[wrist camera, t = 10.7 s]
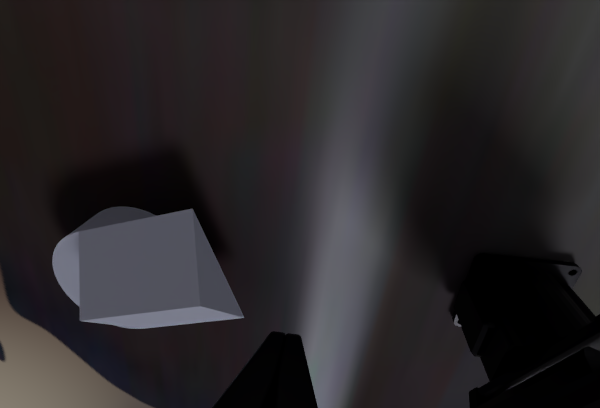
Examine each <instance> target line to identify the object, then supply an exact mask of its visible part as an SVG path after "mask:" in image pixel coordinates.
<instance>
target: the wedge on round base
mask: <svg viewBox="0 0 600 408" xmlns="http://www.w3.org/2000/svg"><path fill="white" fill-rule="evenodd" d="M52 263H53V269H54V273H55V276H56V278H57V280H58V282H59V284H60V286H61V287H62V289H63V290H64V291H65V293H66V294H67V295H68V296H69V297H70V298H71V300H72V301H74V302H75V303H76V304H77V305H78V306H79V307H80V321H86V322H94V323H102V324H110V325H115V326H119V327H123V328H130V329H144V328H153V327H163V326H172V325H181V324H191V323H200V322H209V321H219V320H228V319H237V318H244V316H243V314H242V312H241V310H240V307H239V305H238V303H237V301H236V299H235V297H234V295H233V293H232V291H231V288H230V286H229V284H228V282H227V280H226V278H225V276H224V274H223V272H222V269H221V267H220V265H219V263H218V261H217V259H216V257H215V255H214V253H213V250H212V248H211V246H210V244H209V242H208V240H207V238H206V236H205V234H204V232H203V229H202V227H201V225H200V223H199V221H198V219H197V217H196V215H195V213H194V210H193V209H188V210H183V211H178V212H173V213H168V214H163V215H158V216H156V215H154V214H152V213H150V212H147V211H144V210H142V209H138V208H134V207H125V206H118V207H111V208H108V209H105V210H103V211H101V212H99V213H97V214H96V215H95V216H93V217H92V218H91V219H89V220H88V221H86V222H85V223H84V224H82V225H81V226H80V227H78V228H77V229H75V230H74V231H73V232H71V233H70V234H69V235H67V236H66V237H65V238H63V239H62V240H61V241H60V242H59V243H58V244H57V246H56V248H55V250H54V253H53V261H52Z"/></svg>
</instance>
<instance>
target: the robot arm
mask: <svg viewBox="0 0 600 408" xmlns="http://www.w3.org/2000/svg"><path fill="white" fill-rule="evenodd" d="M482 260H485V261H484V262H480V261H482ZM570 270H572V271H570ZM569 271H570V272H569ZM581 272H582V270H581V268H580V267H579V266H578V265H577V264H575V263H571V262H562V261H552V260H543V259H534V258H524V257H515V256H505V255H496V254H486V253H480V254H478V255H476V256H475V257H474V259H473V262H472V265H471V268H470V270H469V273H468V276H467V279H465V280H464V281H463V283H462V285H461V288H460V291H459V294H458V296H457V299H456V302H455V305H454V309H455V311H454V314H453V317H452V319H453V322H454V324H455V325H456V326H459V327H462V330H463V333H464V335H465V338H466V340H467V343H468V346H469V348H470V351H471V353H472V354H473V355H474V356H477V357H480V358H481V361H482V363H483V366H484V368H485V371H486V373H487V376H488V378H489V381H490V382H488V383H487V384H485V385H483V386H481V387H480V388H477V387H476V388H474V389H473V390H471V391H469V402H470V408H600V315H598V316H595V315H594V314H593V313H592V312H591V311H590V309H589V308H588V307H587V306H586V305H585V304H584V302H583V301H582V300H581V299H580V298H579V297H578V295H577V294H576V293H575V292H574V291H573V290H572V289H573V287H574V285H575V283H576V282H577V280H578V278H579V276H580V275H581ZM212 408H318V407H317V403H316V398H315V394H314V390H313V386H312V382H311V377H310V373H309V369H308V365H307V360H306V356H305V352H304V348H303V343H302V339H301V336H300V335H297V334H290V333H288V334H285V333H283V332H275V331H273V332H271V333H270V334H269V335H268V337H267V338H266V339H265V340H264V342H263V343H262V344H261V346H260V347H259V348H258V349H257V351H256V352H255V353H254V355H253V356H252V357H251V358H250V360H249V361H248V362H247V364H246V365H245V366H244V367H243V369H242V370H241V371H240V373H239V374H238V375H237V376H236V378H235V379H234V380H233V382H232V383H231V384H230V385H229V387H228V388H227V389H226V391H225V392H224V393H223V394H222V396H221V397H220V398H219V400H218V401H217V402H216V404H215V405H214V406H213V407H212Z"/></svg>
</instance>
